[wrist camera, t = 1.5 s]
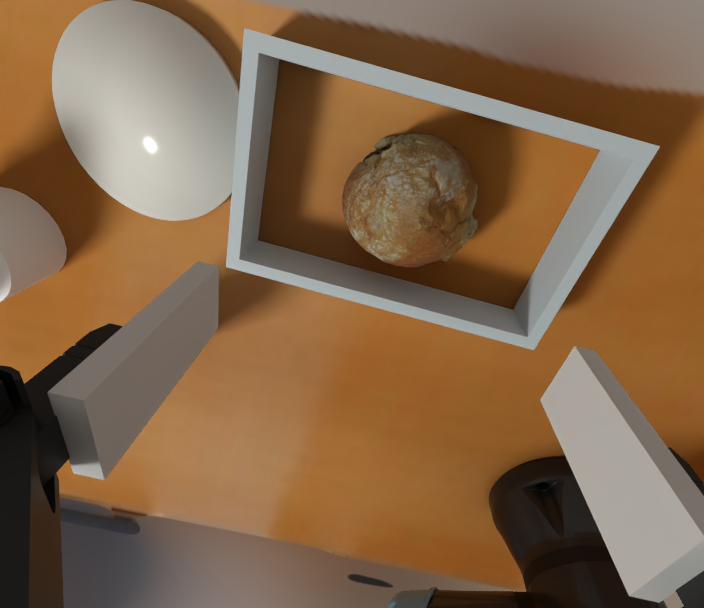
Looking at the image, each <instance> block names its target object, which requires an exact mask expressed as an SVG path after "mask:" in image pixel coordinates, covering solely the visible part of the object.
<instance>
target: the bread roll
mask: <svg viewBox="0 0 704 608" xmlns="http://www.w3.org/2000/svg"><path fill="white" fill-rule="evenodd" d="M374 146H375V148H376V149H377V150H376V151H374V152H372V153H370V154H369V155H368V156H366V157H365V158H364V160H363V162H361V163H358V164H357V165H356V167H355V168H354V169H353V171H352V172H351V174H350V175H349V177H348V179H347V181H346V183H345V186H344V190H343V201H342V205H343V213H344V217H345V220H346V223H347V225H348V228H349V230H350V233H351V235H352V236H353V238H354V239H355V240H356V241H357V242H358V244H359V245H360V246H362V247H363V248H364V249H365V250H366V251H367V252H369V253H371V254H372V255H374V256H376V257H377V258H379V259H380V260H381V261H383V262H385V263H388V264H392V265H394V266H402V267H408V268H410V267H419V268H420V267H422V266H423V265H427V264H428V263H432V262H435V261H436V262H437V261H442V262H447V261H448V259H449V258H450V257H451V256H453V254H454V253H455V252H457V251H458V250H459V249H461V248H462V245H464V244H466V242H467V238H471V237H472V236H473V235H474V233H475V231H476V229H477V227H478V224H477V219H475V218H474V217H473V215H472V214H473V213H472V211H473V209H474V207H475V203H476V199H477V196H478V194H477V189H478V186H477V184H476V182H475V180H474V179H473V177H472V171H471V169H470V166H469V164H468V162H467V160H466V158H465V157H464V156H463V155H462V153H461V152H460V151H459V150H458V149H457V148H456V147H453V146H451V145H450V144H449V143H447V142H446V141H444V140H442V139H440V138H438V137H436V136H433V135H424V134H408V135H399V136H398V137H397V138H396V137H395V136H390V137H388V138H383V139H381V140H380V141H379V142H377V143H376V144H375V145H374Z"/></svg>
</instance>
